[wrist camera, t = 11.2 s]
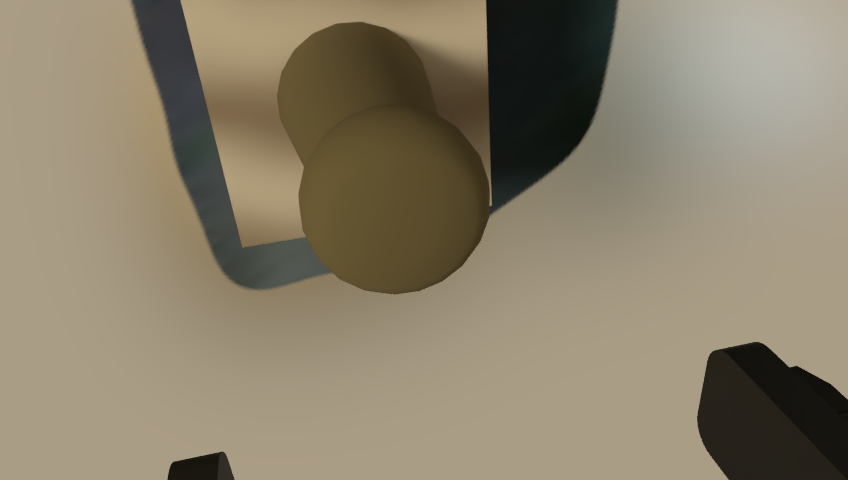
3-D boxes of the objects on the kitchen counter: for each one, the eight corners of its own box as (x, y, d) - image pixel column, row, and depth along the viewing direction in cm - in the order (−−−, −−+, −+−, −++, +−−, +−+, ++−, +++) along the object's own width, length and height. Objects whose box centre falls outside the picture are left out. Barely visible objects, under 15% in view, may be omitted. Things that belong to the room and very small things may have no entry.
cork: (455, 58, 26) (564, 164, 17) (394, 190, 28) (458, 350, 19) (309, -6, 24) (339, 74, 14) (255, 143, 26) (249, 297, 16)
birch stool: (194, -53, 29) (173, -30, 22) (435, -78, 31) (484, -63, 24) (246, 173, 35) (242, 247, 28) (449, 142, 36) (491, 205, 29)
